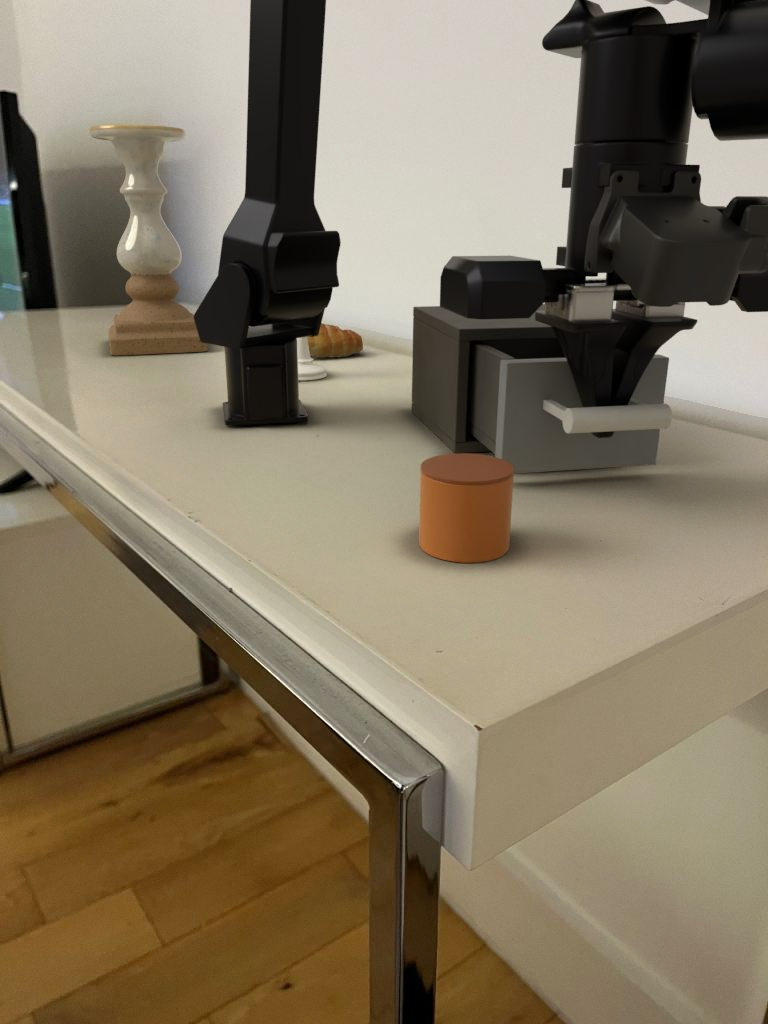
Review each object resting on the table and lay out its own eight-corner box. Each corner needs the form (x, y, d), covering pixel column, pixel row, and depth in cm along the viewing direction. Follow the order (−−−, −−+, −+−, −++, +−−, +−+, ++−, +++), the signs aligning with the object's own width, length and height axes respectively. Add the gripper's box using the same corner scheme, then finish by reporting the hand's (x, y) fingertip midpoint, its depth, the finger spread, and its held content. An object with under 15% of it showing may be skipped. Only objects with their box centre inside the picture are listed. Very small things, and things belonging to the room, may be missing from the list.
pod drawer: (697, 488, 48) (714, 372, 45) (529, 500, 46) (537, 379, 43) (578, 420, 63) (587, 330, 60) (447, 427, 61) (451, 334, 58)
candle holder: (110, 341, 102) (86, 130, 94) (199, 337, 105) (184, 133, 97) (110, 356, 92) (83, 122, 84) (208, 351, 96) (192, 125, 87)
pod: (409, 531, 44) (410, 455, 42) (491, 525, 45) (495, 451, 43) (432, 566, 40) (434, 483, 38) (522, 559, 40) (528, 478, 39)
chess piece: (333, 378, 81) (331, 274, 78) (285, 382, 80) (281, 275, 76) (318, 369, 86) (316, 270, 82) (272, 372, 84) (268, 271, 80)
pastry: (358, 348, 98) (357, 316, 97) (367, 359, 92) (367, 324, 90) (279, 350, 96) (278, 317, 95) (283, 361, 90) (282, 326, 89)
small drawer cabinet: (607, 445, 60) (620, 324, 56) (454, 453, 57) (459, 329, 54) (541, 405, 71) (548, 303, 68) (411, 411, 69) (413, 306, 66)
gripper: (515, 129, 33) (496, 491, 39) (905, 137, 37) (838, 467, 43) (440, 146, 44) (434, 431, 49) (752, 151, 47) (713, 416, 53)
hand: (601, 436), depth 48 cm, fingers closed, pressing on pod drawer
